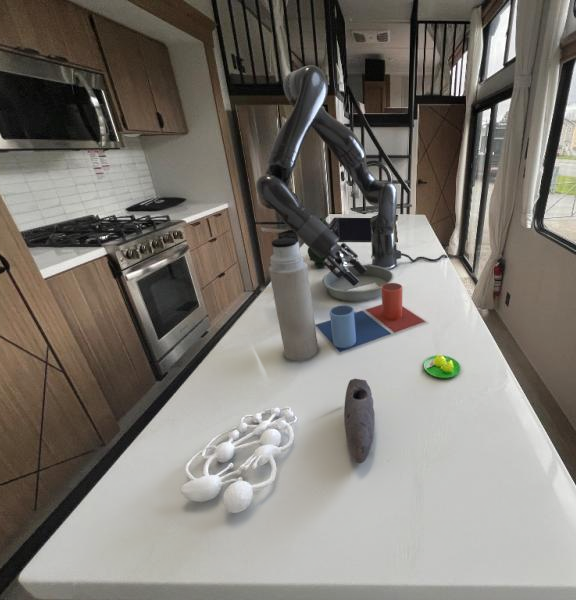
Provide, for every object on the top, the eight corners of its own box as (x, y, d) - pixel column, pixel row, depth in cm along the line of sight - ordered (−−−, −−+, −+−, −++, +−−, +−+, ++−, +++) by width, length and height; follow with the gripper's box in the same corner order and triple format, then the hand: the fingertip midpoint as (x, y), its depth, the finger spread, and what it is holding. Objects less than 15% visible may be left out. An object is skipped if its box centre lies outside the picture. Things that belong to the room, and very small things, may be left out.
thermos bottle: (296, 340, 84) (279, 234, 72) (324, 345, 82) (310, 236, 69) (278, 358, 77) (255, 243, 65) (307, 364, 75) (289, 246, 63)
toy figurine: (317, 257, 151) (305, 272, 127) (313, 216, 144) (300, 223, 121) (338, 257, 151) (329, 272, 127) (335, 215, 144) (325, 222, 121)
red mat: (393, 302, 103) (393, 300, 103) (425, 322, 91) (425, 321, 91) (365, 310, 98) (365, 309, 98) (394, 333, 86) (394, 332, 86)
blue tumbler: (349, 333, 86) (347, 302, 82) (360, 343, 81) (358, 311, 77) (329, 340, 83) (326, 308, 79) (339, 350, 79) (336, 318, 75)
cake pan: (337, 274, 127) (336, 263, 125) (399, 277, 122) (399, 266, 120) (312, 301, 105) (310, 288, 103) (386, 306, 100) (386, 293, 98)
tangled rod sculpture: (251, 409, 64) (246, 392, 62) (317, 418, 60) (313, 400, 58) (167, 502, 47) (156, 482, 45) (251, 524, 43) (242, 503, 41)
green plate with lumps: (466, 367, 72) (468, 357, 71) (446, 385, 67) (447, 374, 66) (437, 353, 77) (438, 343, 76) (416, 368, 72) (416, 358, 71)
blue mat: (362, 311, 98) (362, 310, 98) (391, 334, 85) (391, 333, 85) (315, 326, 91) (315, 324, 90) (340, 353, 78) (339, 352, 78)
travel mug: (307, 283, 118) (300, 229, 110) (301, 291, 112) (293, 234, 104) (291, 283, 119) (282, 229, 110) (284, 290, 113) (274, 234, 104)
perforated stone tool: (376, 472, 50) (374, 440, 47) (342, 474, 50) (338, 442, 47) (374, 402, 63) (373, 374, 60) (347, 403, 63) (344, 375, 60)
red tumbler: (394, 308, 98) (394, 281, 94) (406, 316, 94) (406, 287, 90) (378, 313, 95) (377, 285, 91) (389, 321, 91) (388, 292, 87)
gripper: (316, 233, 80) (363, 278, 83) (334, 221, 93) (374, 260, 96) (299, 253, 84) (345, 296, 87) (319, 239, 96) (358, 276, 99)
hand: (360, 277), depth 91 cm, fingers open, 8 cm apart
